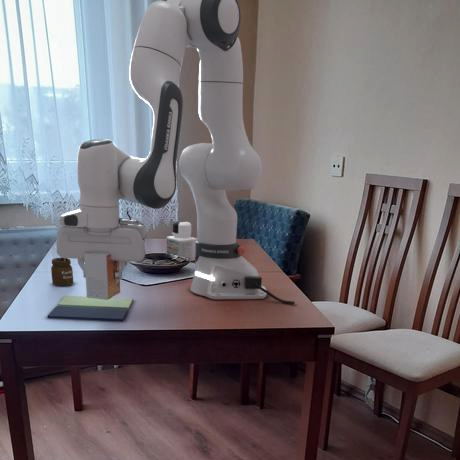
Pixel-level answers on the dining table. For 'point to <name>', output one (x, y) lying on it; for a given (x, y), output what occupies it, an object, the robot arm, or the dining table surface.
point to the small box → (101, 276)
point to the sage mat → (95, 302)
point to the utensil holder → (61, 271)
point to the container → (182, 241)
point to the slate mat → (88, 313)
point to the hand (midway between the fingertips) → (102, 278)
